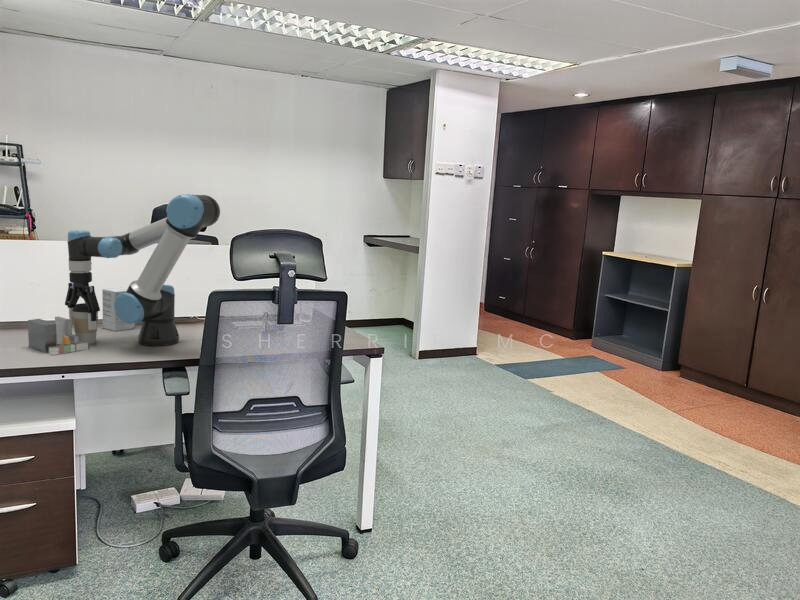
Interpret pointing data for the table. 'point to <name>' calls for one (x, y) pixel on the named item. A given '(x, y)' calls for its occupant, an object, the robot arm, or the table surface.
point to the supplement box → (113, 310)
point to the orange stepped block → (66, 340)
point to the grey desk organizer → (49, 338)
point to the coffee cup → (83, 324)
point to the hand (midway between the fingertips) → (83, 327)
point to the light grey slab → (64, 330)
